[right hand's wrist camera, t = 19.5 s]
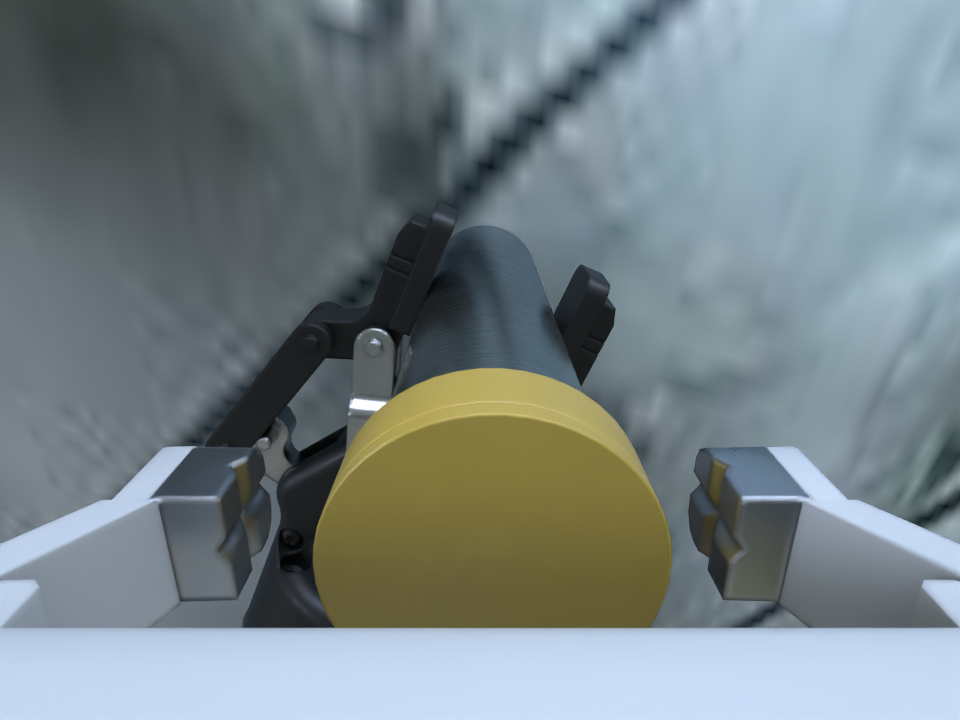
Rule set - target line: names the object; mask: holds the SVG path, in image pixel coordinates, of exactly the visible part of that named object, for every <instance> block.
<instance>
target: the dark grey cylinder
mask: <svg viewBox="0 0 960 720" xmlns="http://www.w3.org/2000/svg"><path fill="white" fill-rule="evenodd" d="M478 368H504V369H513V370H521V371H527V372H531V373H535V374H539V375H543V376H546V377H549V378H552V379H554V380H557V381H560V382H562V383H565V384H567V385H569V386H570V387H572V388H574V389H576V390H578V391H580V392H582V393H583V391H582V389H581V386H580V383H579V381H578V378H577V375H576V373H575V370H574V367H573V365H572V362H571V359H570V357H569V354H568V352H567V349H566V346H565V344H564V341H563V338H562V336H561V333H560V330H559V328H558V325H557V323H556V320H555V317H554V315H553V312H552V309H551V307H550V304H549V301H548V299H547V296H546V293H545V291H544V288H543V286H542V283H541V280H540V278H539V275H538V272H537V270H536V267H535V264H534V262H533V259H532V257H531V254H530V253H529V251H528V249H527V248H526V246H525V245H524V244H523V243H522V242H521V241H520V240H519V239H518V238H517V237H516V236H515V235H513V234H511V233H510V232H508V231H506V230H503V229H501V228H497V227H492V226H476V227H471V228H468V229H465V230H463V231H461V232H459V233H457V234H455V235H454V236H453V237H451V238H450V239H449V241H448V244H447V246H446V248H445V251H444V253H443V256H442V258H441V261H440V263H439V266H438V268H437V271H436V273H435V275H434V278H433V280H432V283H431V285H430V288H429V290H428V293H427V295H426V297H425V300H424V302H423V304H422V306H421V309H420V311H419V314H418V317H417V320H416V323H415V326H414V329H413V332H412V336H411V339H410V342H409V345H408V348H407V351H406V355H405V358H404V361H403V364H402V367H401V370H400V374H399V377H398V380H397V383H396V386H395V389H394V393H393V396H392V398H394V397H395V396H397V395H398V394H400V393H402V392H403V391H405V390H407V389H409V388H411V387H412V386H414V385H416V384H419V383H421V382H424V381H426V380H429V379H431V378H434V377H437V376H441V375H444V374H448V373H452V372H456V371H463V370H470V369H478Z"/></svg>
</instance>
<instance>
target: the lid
mask: <svg viewBox="0 0 960 720" xmlns="http://www.w3.org/2000/svg"><path fill="white" fill-rule="evenodd" d="M671 565H672V547H671V538H670V533H669V528H668V523H667V521H666V518H665V515H664V513H663V510H662V507H661V505H660V503H659V500H658V498H657V496H656V494H655V492H654V490H653V488H652V486H651V483H650V481H649V479H648V477H647V475H646V473H645V471H644V469H643V466H642V464H641V462H640V460H639V458H638V456H637V454H636V451H635V449H634V448H633V446H632V444H631V442H630V441H629V439H628V437H627V435H626V434H625V432H624V431H623V430H622V428H621V427H620V426H619V425H618V423H617V422H616V421H615V420H614V418H613V417H612V416H610V415H609V414H608V413H607V412H606V411H605V410H604V409H603V408H602V407H601V406H600V405H599V404H597V403H596V402H595V401H593V400H592V399H590V398H589V397H588V396H586V395H585V394H583V393H582V392H580V391H578V390H576V389H574V388H572V387H570V386H569V385H567V384H565V383H562V382H560V381H557V380H554V379H552V378H549V377H546V376H543V375H539V374H535V373H531V372H527V371H521V370H513V369H504V368H478V369H470V370H463V371H456V372H452V373H448V374H444V375H441V376H437V377H434V378H431V379H429V380H426V381H424V382H421V383H419V384H416V385H414V386H412V387H411V388H409V389H407V390H405V391H403V392H402V393H400V394H398V395H397V396H395V397H394V398H392V399H391V400H390V401H388V402H387V403H386V404H384V405H383V406H382V407H380V408H379V409H378V410H377V411H376V412H375V413H374V414H373V415H372V416H371V417H370V418H369V419H368V420H367V421H366V423H365V424H364V425H363V426H362V428H361V429H360V430H359V432H358V433H357V434H356V436H355V437H354V439H353V441H352V443H351V445H350V446H349V448H348V450H347V452H346V454H345V457H344V459H343V462H342V464H341V467H340V469H339V472H338V474H337V477H336V479H335V482H334V484H333V486H332V489H331V492H330V494H329V496H328V499H327V501H326V504H325V506H324V509H323V512H322V514H321V517H320V520H319V523H318V525H317V530H316V535H315V540H314V545H313V568H314V576H315V583H316V587H317V590H318V594H319V597H320V600H321V603H322V605H323V607H324V609H325V612H326V614H327V616H328V618H329V620H330V621H331V623H332V624H333V626H334V627H335V628H649V627H650V625H651V624H652V622H653V621H654V619H655V618H656V616H657V614H658V612H659V609H660V607H661V605H662V603H663V601H664V598H665V595H666V591H667V588H668V584H669V580H670V573H671Z"/></svg>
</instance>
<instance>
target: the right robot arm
mask: <svg viewBox="0 0 960 720" xmlns="http://www.w3.org/2000/svg"><path fill="white" fill-rule="evenodd" d="M265 472H266V468H265V463H264V457H263V454H262V452H261V451H260V450H259V448H241V447H196V446H180V447H165V448H162V449H161V450H160V451H159V452H158V453H157V454H156V455H155V456H154V457H153V458H152V459H151V461H150V462H149V463H148V464H147V465H146V466H145V467H144V468H143V469H142V470H141V471H140V472H139V473H138V474H137V475H136V476H135V477H134V478H133V479H132V480H131V481H130V482H129V483H128V484H127V485H126V486H125V487H124V488H123V489H122V490H121V491H120V492H119V493H118V494H117V495H116V496H115V497H114V498H113V499H112V500H101V501H98V502H96V503H94V504H91V505H89V506H87V507H84V508H82V509H80V510H77V511H75V512H73V513H71V514H68V515H66V516H64V517H61V518H59V519H57V520H54V521H52V522H50V523H47V524H45V525H43V526H41V527H38V528H36V529H34V530H31V531H29V532H27V533H24V534H22V535H20V536H18V537H15V538H13V539H11V540H8V541H6V542H4V543H1V544H0V720H960V544H958V543H956V542H954V541H951V540H949V539H947V538H945V537H942V536H940V535H938V534H935V533H933V532H931V531H928V530H926V529H924V528H922V527H919V526H917V525H915V524H912V523H910V522H908V521H905V520H903V519H901V518H899V517H896V516H894V515H892V514H889V513H887V512H885V511H882V510H880V509H878V508H876V507H873V506H871V505H869V504H866V503H864V502H862V501H859V500H848V499H847V498H846V497H845V496H844V495H843V494H842V493H841V492H840V491H839V490H838V489H837V488H836V487H835V486H834V485H833V484H832V483H831V482H830V481H829V480H828V479H827V478H826V477H825V476H824V475H823V474H822V473H821V472H820V471H819V470H818V469H817V468H816V467H815V465H814V464H813V463H812V462H811V461H810V460H809V459H808V458H807V457H806V456H805V455H804V454H803V453H802V452H801V451H800V450H799V449H798V448H795V447H792V446H778V447H733V448H704V449H700V450H699V452H698V455H697V457H696V462H695V468H694V472H695V474H696V476H697V477H698V479H699V481H700V483H701V484H700V485H699V486H698V487H697V488H696V489H695V490H694V491H693V492H692V493H691V494H690V503H689V511H688V512H689V525H690V531H691V535H692V538H693V541H694V543H695V545H696V547H697V549H698V551H699V552H701V553H703V554H704V555H706V556H707V557H709V558H710V559H709V565H708V571H709V573H710V575H711V577H712V579H713V581H714V583H715V585H716V587H717V589H718V591H719V592H720V594H721V596H722V598H723V600H744V601H780V602H779V604H780V605H781V606H782V607H784V608H785V609H786V610H787V611H789V612H790V613H791V614H793V615H794V616H795V617H796V618H798V619H799V620H800V621H801V622H803V623H804V624H805V625H806V626H808V627H809V628H151V627H152V626H154V625H155V624H156V623H158V622H159V621H160V620H161V619H163V618H164V617H165V616H166V615H168V614H169V613H170V612H172V611H173V610H174V609H175V608H177V607H178V606H179V605H180V604H181V603H180V601H215V600H237V598H238V597H239V595H240V593H241V591H242V589H243V587H244V585H245V583H246V581H247V579H248V577H249V575H250V573H251V571H252V565H251V559H250V558H251V557H253V556H254V555H256V554H257V553H259V552H261V551H262V549H263V547H264V545H265V543H266V541H267V539H268V534H269V530H270V525H271V501H270V494H269V493H268V492H267V491H266V490H265V489H264V488H263V487H262V486H261V485H260V484H259V483H260V481H261V479H262V477H263V476H264V474H265Z"/></svg>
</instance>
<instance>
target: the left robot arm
mask: <svg viewBox="0 0 960 720" xmlns="http://www.w3.org/2000/svg"><path fill="white" fill-rule="evenodd" d="M458 214H459V211H458V210H456V209H454V208H451V207H449V206H447V205H445V204H442V203H440V202H438V203H437V205H436V207H435V210H434V212H433V215H432V217H431V219H427V218H425V217H423V216H420V215H418V214H415V215H414V216H413V217H412V218H411V219H410V220H409V221H408V222H407V223H406V224H405V226H404V227H403V228H402V229H401V231H400V232H399V234H398V236H397V239H396V241H395V244H394V247H393V249H392V252H391V255H390V257H389V260H388V262H387V265H386V268H385V270H384V273H383V276H382V278H381V281H380V284H379V286H378V289H377V292H376V294H375V297H374V300H373V302H372V303H371V304H370V305H368V306H366V307H363V308H342V307H341V306H339V305H338V304H336V303H333V302H322V303H320V304H318V305H316V306H315V307H314V309H313V310H312V311H311V312H310V313H309V315H308V316H307V317H306V318H305V320H304V321H303V322H302V323H301V324H300V325H299V326H298V327H297V328H296V329H295V330H294V331H293V333H292V334H291V335H290V336H289V338H288V339H287V340H286V342H285V343H284V344H283V345H282V347H281V348H280V349H279V350H278V352H277V353H276V354H275V355H274V357H273V358H272V359H271V361H270V362H269V363H268V364H267V366H266V367H265V368H264V369H263V371H262V372H261V373H260V375H259V376H258V377H257V378H256V380H255V381H254V382H253V383H252V385H251V386H250V387H249V388H248V390H247V391H246V392H245V394H244V395H243V396H242V397H241V399H240V400H239V401H238V402H237V404H236V405H235V406H234V408H233V409H232V410H231V411H230V413H229V414H228V415H227V416H226V418H225V419H224V420H223V421H222V423H221V424H220V425H219V427H218V428H217V429H216V430H215V432H214V433H213V434H212V435H211V437H210V438H209V439H208V441H207V443H206V446H205V447H241V448H259V450H260V451H261V452H262V454H263V457H264V463H265V468H266V472H265V474H264V475H266V476H267V477H269V478H270V479H272V480H273V481H275V482H276V483H278V486H277V499H278V503H279V506H280V511H281V521H280V525H279V527H278V530H277V533H276V536H275V538H274V541H273V544H272V546H271V549H270V552H269V554H268V557H267V560H266V563H265V565H264V568H263V571H262V573H261V576H260V579H259V582H258V584H257V587H256V590H255V592H254V595H253V598H252V600H251V603H250V606H249V608H248V610H247V612H246V614H245V616H244V619H243V624H242V627H241V628H335V627H334V626H333V624H332V623H331V621H330V620H329V618H328V616H327V614H326V612H325V609H324V607H323V605H322V603H321V600H320V597H319V594H318V590H317V587H316V583H315V576H314V568H313V545H314V540H315V535H316V530H317V525H318V523H319V520H320V517H321V514H322V512H323V509H324V506H325V504H326V501H327V499H328V496H329V494H330V492H331V489H332V486H333V484H334V482H335V479H336V477H337V474H338V472H339V469H340V467H341V464H342V462H343V459H344V457H345V454H346V452H347V450H348V448H349V446H350V445H351V443H352V441H353V439H354V437H355V436H356V434H357V433H358V432H359V430H360V429H361V428H362V426H363V425H364V424H365V423H366V421H367V420H368V419H369V418H370V417H371V416H372V415H373V414H374V413H375V412H376V411H377V410H378V409H379V408H380V407H382V406H383V405H384V404H386V403H387V402H388V401H390V400H391V399H392V396H393V393H394V389H395V386H396V383H397V380H398V377H399V374H400V369H401V355H402V342H403V335H404V334H405V335H408V336H410V334H411V332H412V329H413V327H414V324H415V322H416V320H417V317H418V314H419V311H420V309H421V306H422V304H423V302H424V300H425V297H426V295H427V293H428V290H429V288H430V285H431V283H432V280H433V278H434V275H435V273H436V271H437V268H438V266H439V263H440V261H441V258H442V256H443V253H444V251H445V248H446V246H447V244H448V241H449V239H450V236H451V234H452V231H453V229H454V226H455V224H456V221H457V218H458ZM609 290H610V284H609V282H608V281H607V280H606V278H605V277H604V276H603V275H602V274H601V273H599V272H597V271H595V270H593V269H590V268H588V267H586V266H583V265H580V266H579V267H578V268H577V270H576V271H575V273H574V275H573V277H572V279H571V281H570V283H569V285H568V287H567V289H566V291H565V293H564V295H563V297H562V299H561V301H560V303H559V305H558V307H557V309H556V311H555V313H554V317H555V320H556V323H557V325H558V328H559V330H560V333H561V336H562V338H563V341H564V344H565V346H566V349H567V352H568V354H569V357H570V359H571V362H572V365H573V367H574V370H575V373H576V375H577V378H578V381H579V383H580V386H582V384H583V382H584V380H585V378H586V376H587V374H588V373H589V371H590V369H591V367H592V365H593V363H594V361H595V359H596V358H597V356H598V353H599V352H600V350H601V348H602V346H603V345H604V342H605V341H606V339H607V337H608V335H609V333H610V332H611V330H612V328H613V326H614V317H615V307H614V306H613V305H612V303H611V302H610V300H609V299H608V298H607V297H608V294H609ZM325 358H335V359H353V377H352V395H351V401H350V405H349V411H348V421H347V425H346V426H344V427H343V428H341V429H339V430H337V431H336V432H334V433H332V434H330V435H328V436H327V437H325V438H323V439H321V440H319V441H318V442H316V443H314V444H312V445H310V446H309V447H307V448H305V449H303V450H302V451H300V452H299V451H298V450H297V449H296V448H295V447H294V446H293V443H292V439H291V437H292V433H293V431H294V429H295V427H296V418H295V415H294V414H293V412H292V410H291V408H290V407H288V406H286V405H287V404H288V403H289V402H290V401H291V399H292V398H293V397H294V396H295V395H296V393H297V392H298V391H299V390H300V388H301V387H302V386H303V385H304V384H305V382H306V381H307V380H308V379H309V378H310V376H311V375H312V374H313V373H314V371H315V370H316V369H317V368H318V367H319V365H320V364H321V363H322V362H323V360H324V359H325Z"/></svg>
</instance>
